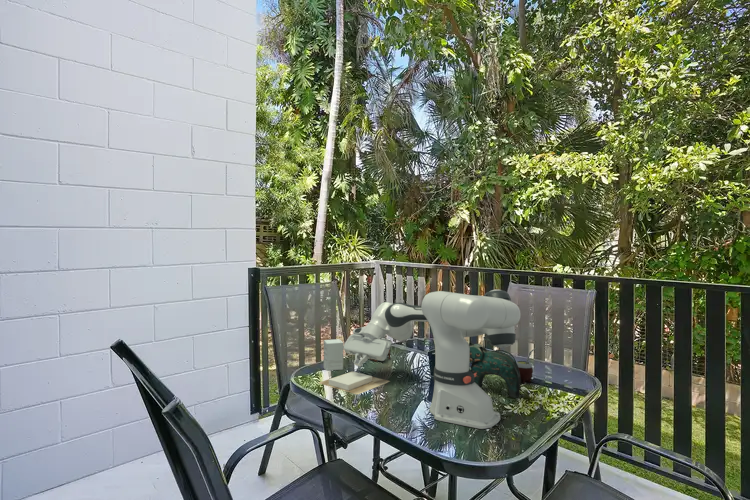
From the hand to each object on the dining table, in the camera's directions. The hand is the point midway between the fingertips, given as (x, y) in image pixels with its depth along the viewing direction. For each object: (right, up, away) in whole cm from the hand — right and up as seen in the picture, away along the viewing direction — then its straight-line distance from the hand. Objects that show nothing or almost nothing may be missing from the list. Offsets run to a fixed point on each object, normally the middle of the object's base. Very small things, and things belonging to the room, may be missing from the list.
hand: (357, 365), depth 166 cm
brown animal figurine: (+10, -8, +36) cm, 38 cm away
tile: (+2, -5, +3) cm, 6 cm away
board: (-1, -7, -1) cm, 8 cm away
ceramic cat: (+52, -8, -7) cm, 53 cm away
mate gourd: (+67, -9, +5) cm, 68 cm away
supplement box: (-11, -7, +18) cm, 23 cm away
